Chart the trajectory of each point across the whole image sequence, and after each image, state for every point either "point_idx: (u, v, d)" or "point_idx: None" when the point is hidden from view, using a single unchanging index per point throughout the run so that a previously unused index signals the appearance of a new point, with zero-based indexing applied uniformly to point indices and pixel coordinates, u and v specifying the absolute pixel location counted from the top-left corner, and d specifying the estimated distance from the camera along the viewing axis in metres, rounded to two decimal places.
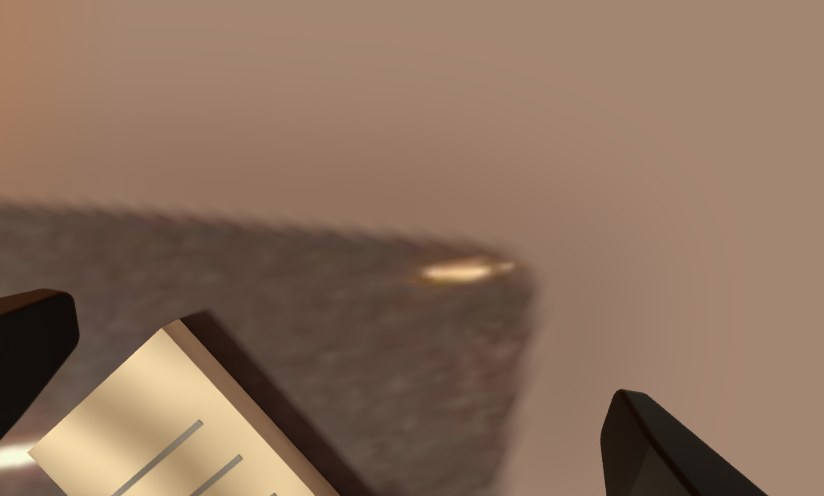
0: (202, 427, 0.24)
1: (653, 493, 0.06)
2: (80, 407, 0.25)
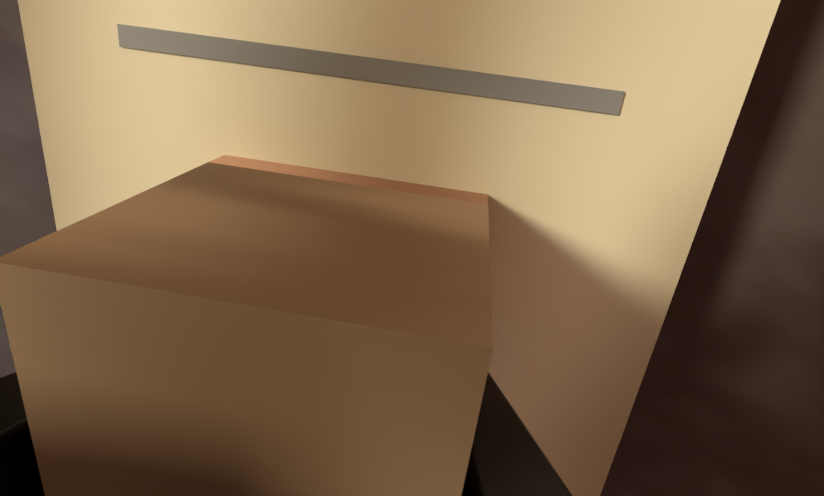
0: None
1: None
2: None
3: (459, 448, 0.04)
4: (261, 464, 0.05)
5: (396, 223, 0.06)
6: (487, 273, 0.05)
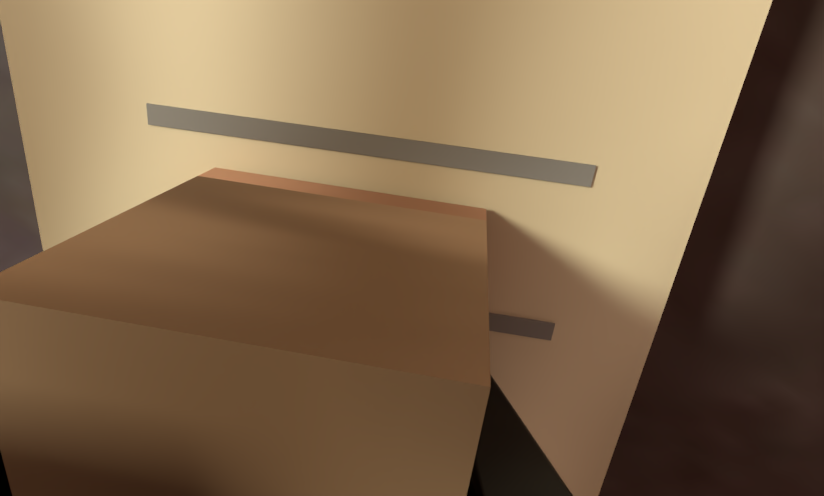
0: None
1: None
2: None
3: (455, 490, 0.04)
4: None
5: (390, 242, 0.06)
6: (485, 299, 0.05)
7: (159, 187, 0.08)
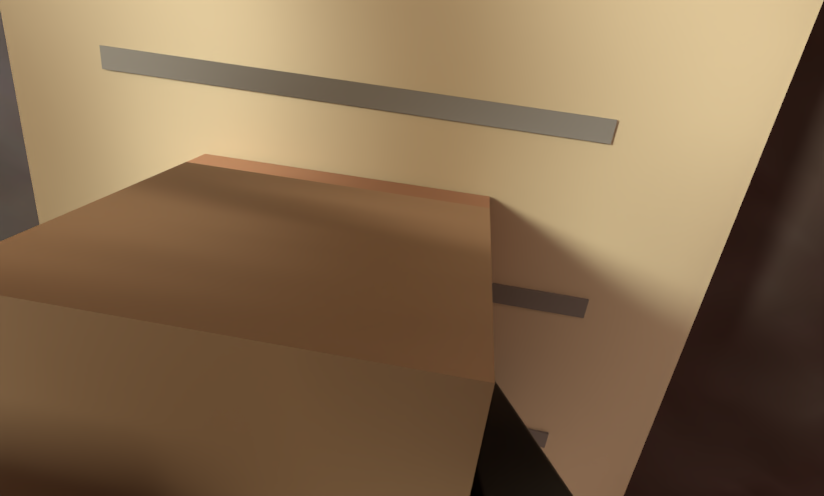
0: (597, 150, 0.06)
1: None
2: None
3: (455, 495, 0.04)
4: None
5: (387, 229, 0.05)
6: (488, 289, 0.04)
7: None
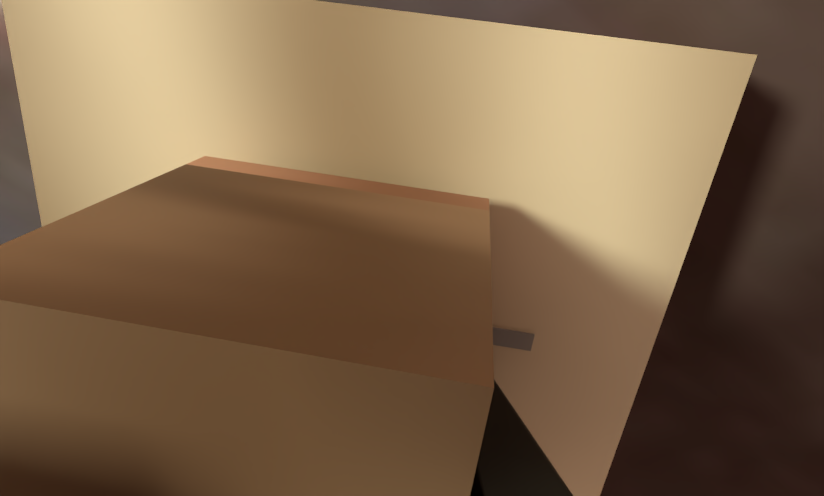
0: (520, 353, 0.08)
1: None
2: (275, 7, 0.07)
3: None
4: None
5: (387, 232, 0.05)
6: (488, 292, 0.04)
7: None
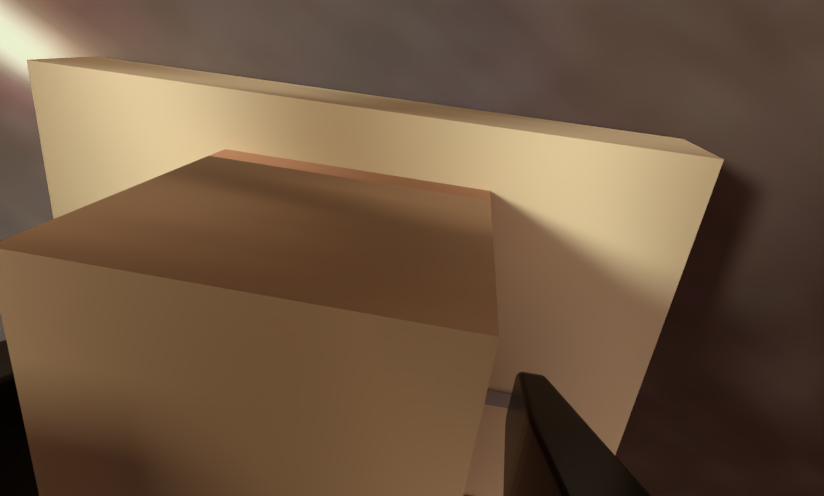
0: None
1: (527, 469, 0.06)
2: (285, 107, 0.07)
3: (463, 441, 0.04)
4: (260, 458, 0.04)
5: (398, 216, 0.06)
6: (491, 265, 0.05)
7: None
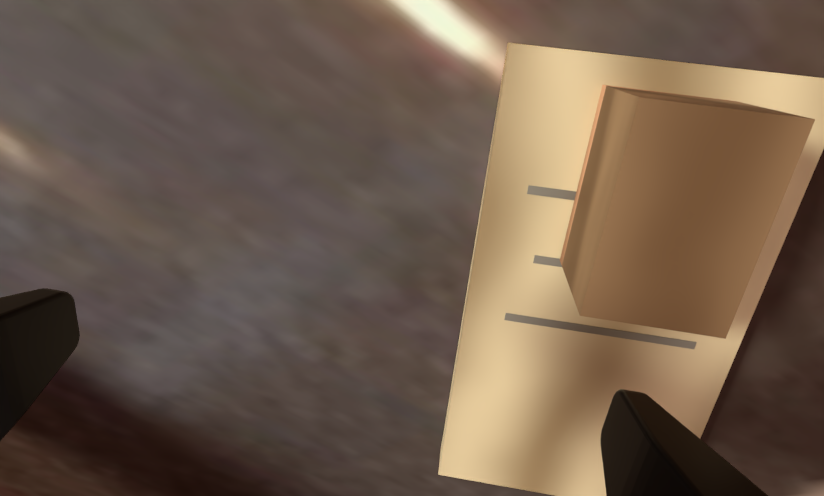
0: None
1: (653, 493, 0.06)
2: (638, 62, 0.15)
3: (793, 161, 0.12)
4: (713, 176, 0.13)
5: (724, 103, 0.14)
6: None
7: (530, 286, 0.19)
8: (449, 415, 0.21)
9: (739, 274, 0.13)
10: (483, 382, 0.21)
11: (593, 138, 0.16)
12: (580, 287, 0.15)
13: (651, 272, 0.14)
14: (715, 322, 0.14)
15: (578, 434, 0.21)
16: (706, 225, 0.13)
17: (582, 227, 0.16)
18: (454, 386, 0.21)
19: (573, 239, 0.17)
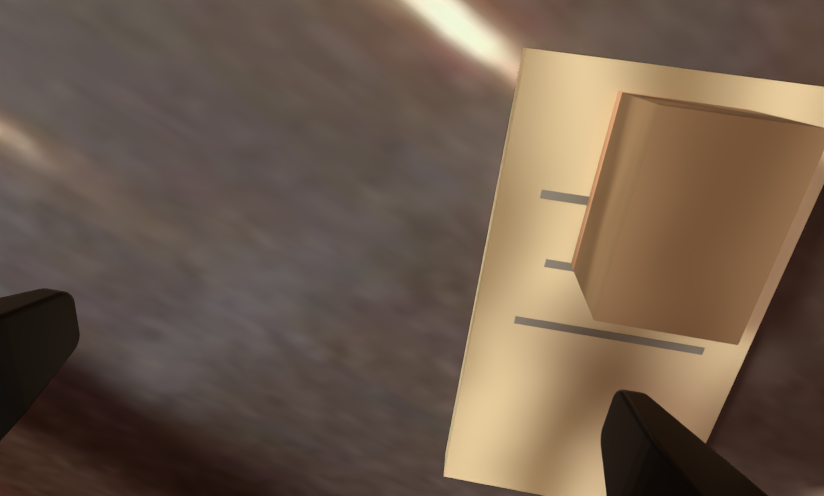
0: None
1: (653, 493, 0.06)
2: (654, 70, 0.16)
3: (810, 170, 0.12)
4: (730, 184, 0.13)
5: (740, 111, 0.14)
6: None
7: (541, 290, 0.19)
8: (456, 417, 0.21)
9: (753, 282, 0.14)
10: (491, 385, 0.21)
11: (608, 144, 0.16)
12: (594, 292, 0.15)
13: (666, 279, 0.14)
14: (728, 329, 0.14)
15: (585, 437, 0.21)
16: (722, 232, 0.13)
17: (596, 232, 0.16)
18: (462, 388, 0.21)
19: (586, 244, 0.17)
